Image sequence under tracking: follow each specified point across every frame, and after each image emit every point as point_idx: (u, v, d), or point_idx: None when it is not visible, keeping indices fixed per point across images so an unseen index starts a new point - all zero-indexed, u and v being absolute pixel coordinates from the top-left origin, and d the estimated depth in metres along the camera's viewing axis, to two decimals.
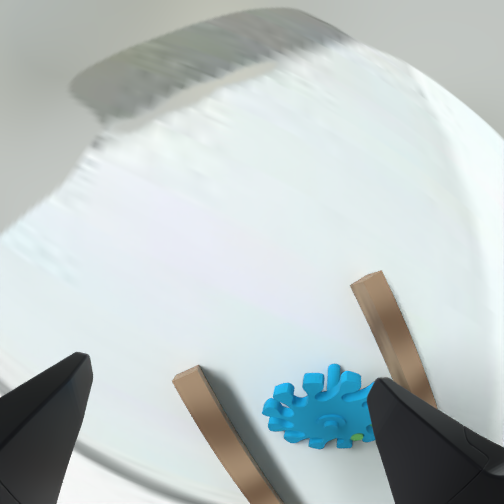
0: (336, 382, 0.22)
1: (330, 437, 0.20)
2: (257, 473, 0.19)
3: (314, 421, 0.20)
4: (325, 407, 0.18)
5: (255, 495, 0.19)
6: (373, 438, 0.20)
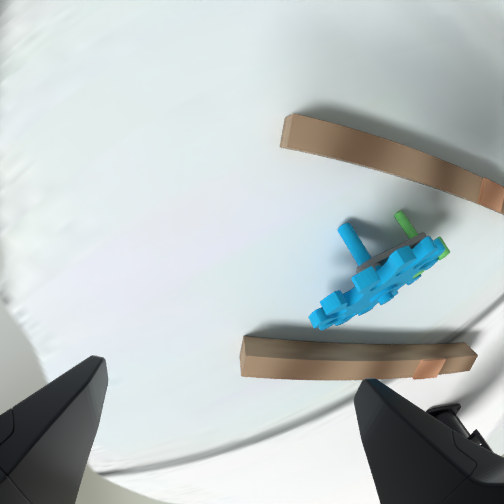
0: (357, 247, 0.20)
1: (395, 290, 0.21)
2: (365, 362, 0.22)
3: (368, 302, 0.19)
4: (365, 298, 0.18)
5: (380, 372, 0.23)
6: (434, 262, 0.19)
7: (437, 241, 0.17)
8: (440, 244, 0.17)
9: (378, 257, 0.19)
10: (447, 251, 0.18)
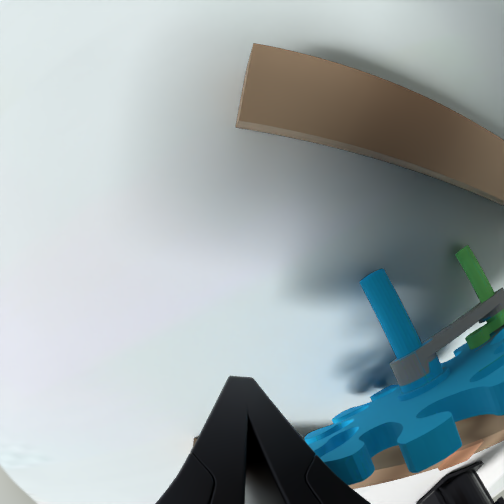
0: (397, 321, 0.09)
1: None
2: (379, 470, 0.12)
3: None
4: None
5: (398, 474, 0.13)
6: None
7: None
8: None
9: (435, 343, 0.09)
10: None
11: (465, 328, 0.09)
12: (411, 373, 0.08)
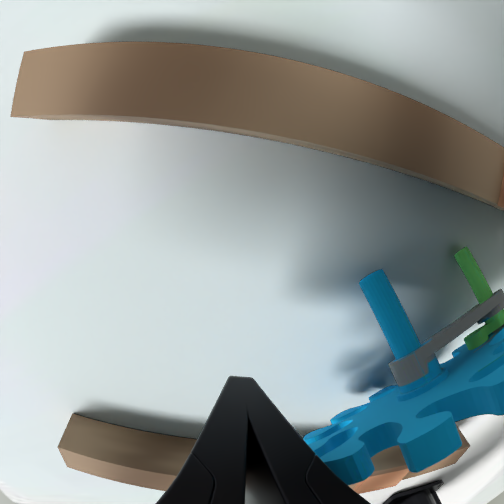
0: (396, 322, 0.09)
1: None
2: None
3: None
4: None
5: None
6: None
7: None
8: None
9: (434, 344, 0.09)
10: None
11: (464, 329, 0.09)
12: (410, 373, 0.08)
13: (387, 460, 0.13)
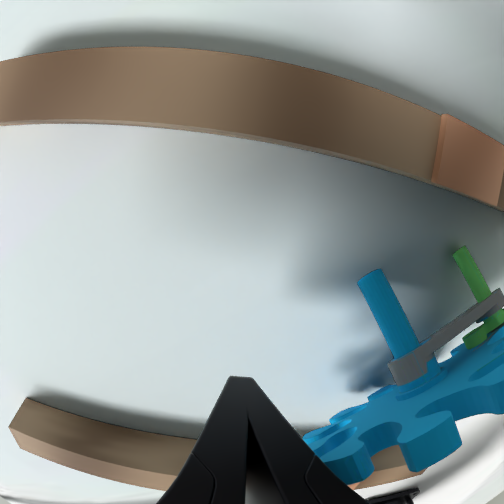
0: (395, 321, 0.09)
1: None
2: None
3: None
4: None
5: None
6: None
7: None
8: None
9: (433, 343, 0.09)
10: None
11: (462, 328, 0.09)
12: (409, 373, 0.09)
13: None
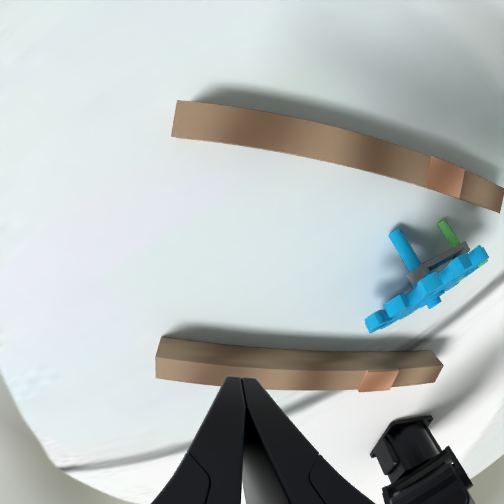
0: (409, 252, 0.19)
1: None
2: (293, 371, 0.21)
3: (416, 306, 0.19)
4: (419, 302, 0.17)
5: (315, 383, 0.21)
6: (474, 270, 0.18)
7: None
8: (484, 252, 0.16)
9: (428, 263, 0.18)
10: (486, 260, 0.18)
11: (443, 258, 0.19)
12: (418, 276, 0.18)
13: (380, 365, 0.22)
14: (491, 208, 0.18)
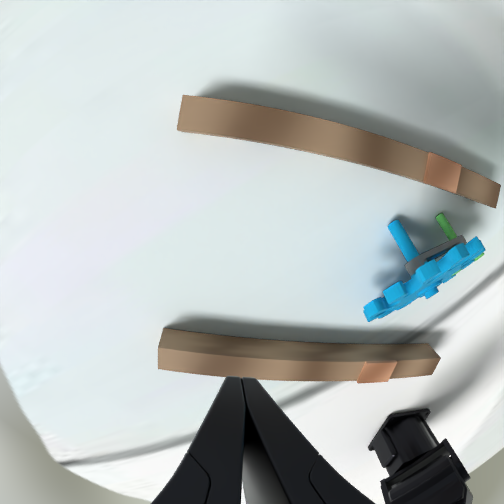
0: (407, 243, 0.20)
1: None
2: (293, 361, 0.21)
3: (414, 296, 0.19)
4: (418, 291, 0.18)
5: (314, 374, 0.22)
6: (470, 263, 0.19)
7: None
8: (481, 245, 0.17)
9: (426, 254, 0.19)
10: (482, 253, 0.19)
11: (441, 249, 0.19)
12: (416, 266, 0.19)
13: (378, 356, 0.23)
14: (487, 203, 0.19)
